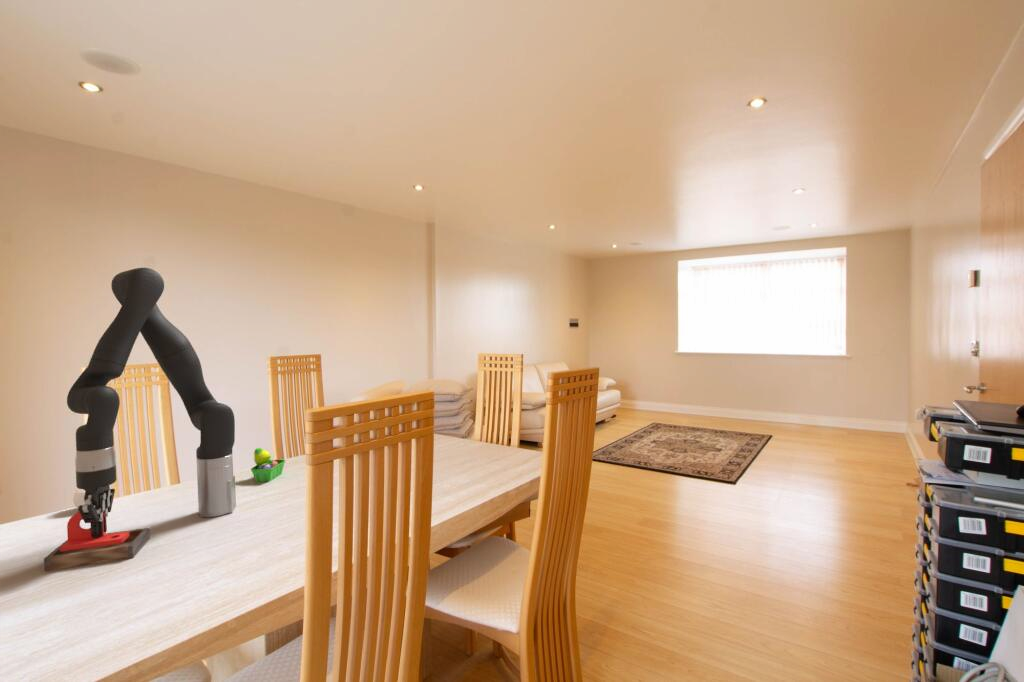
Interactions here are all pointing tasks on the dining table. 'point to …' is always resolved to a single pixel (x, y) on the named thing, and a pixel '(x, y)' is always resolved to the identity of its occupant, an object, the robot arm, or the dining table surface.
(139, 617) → the dining table surface
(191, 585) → the dining table surface
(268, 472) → the fruit basket
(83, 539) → the bracket
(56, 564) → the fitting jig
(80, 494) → the geometric ball
